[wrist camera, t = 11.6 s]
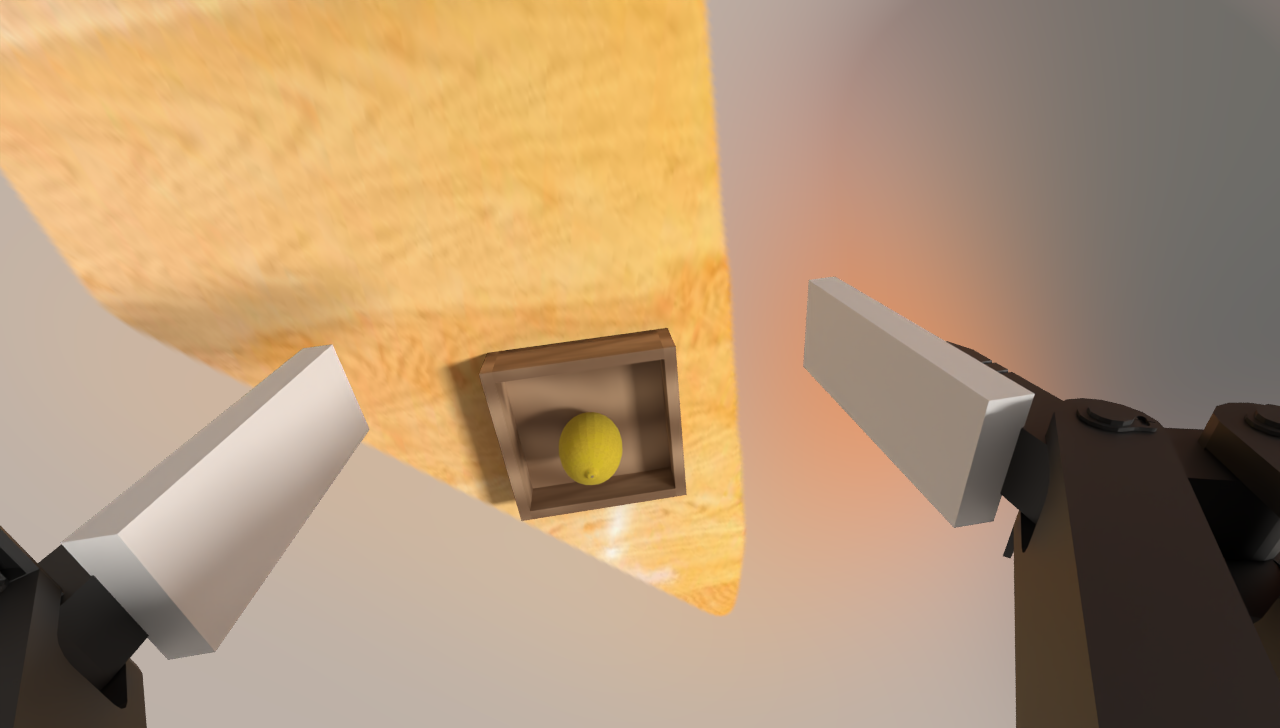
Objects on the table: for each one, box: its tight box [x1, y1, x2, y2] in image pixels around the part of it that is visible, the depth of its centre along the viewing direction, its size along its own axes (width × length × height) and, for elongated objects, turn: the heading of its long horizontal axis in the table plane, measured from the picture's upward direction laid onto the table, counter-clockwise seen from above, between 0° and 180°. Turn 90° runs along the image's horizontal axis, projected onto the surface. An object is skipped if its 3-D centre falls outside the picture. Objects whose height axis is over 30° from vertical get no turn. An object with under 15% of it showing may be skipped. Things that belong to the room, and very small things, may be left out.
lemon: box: [559, 412, 622, 485], centre depth 41 cm, size 6×6×8 cm
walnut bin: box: [479, 328, 686, 521], centre depth 44 cm, size 16×16×4 cm
